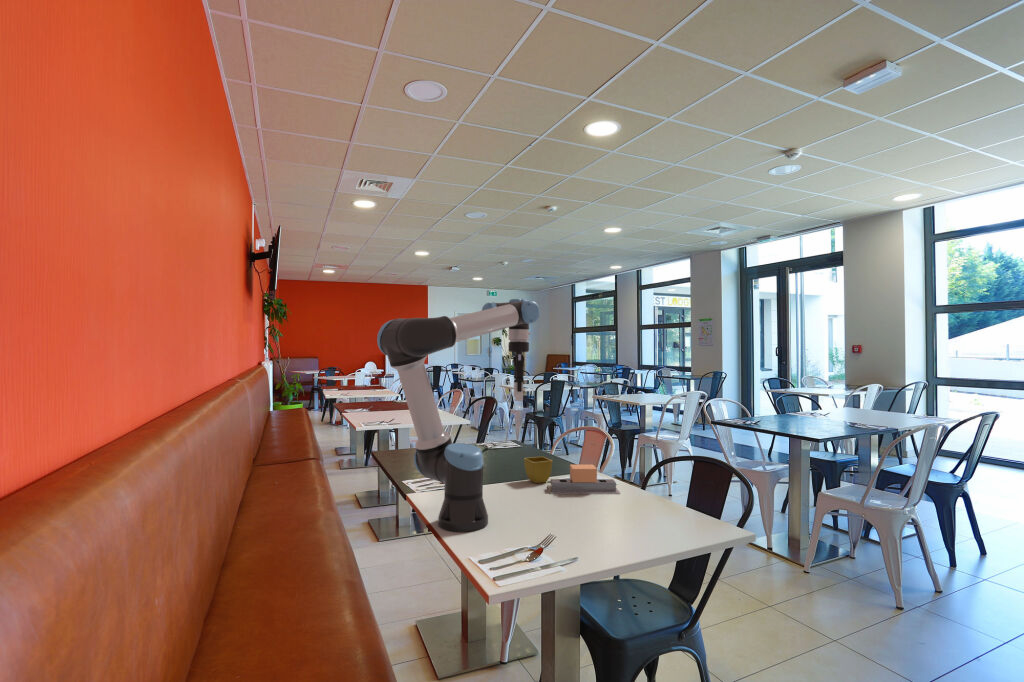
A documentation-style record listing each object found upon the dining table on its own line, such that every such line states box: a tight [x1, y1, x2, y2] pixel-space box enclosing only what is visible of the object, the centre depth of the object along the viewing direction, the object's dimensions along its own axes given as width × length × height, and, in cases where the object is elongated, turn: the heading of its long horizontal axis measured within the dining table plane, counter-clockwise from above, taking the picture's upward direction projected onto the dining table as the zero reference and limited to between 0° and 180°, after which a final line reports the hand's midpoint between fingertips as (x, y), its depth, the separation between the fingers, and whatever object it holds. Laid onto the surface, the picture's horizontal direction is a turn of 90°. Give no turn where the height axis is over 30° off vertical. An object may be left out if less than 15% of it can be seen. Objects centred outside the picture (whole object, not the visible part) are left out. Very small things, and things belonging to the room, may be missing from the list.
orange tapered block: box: [569, 464, 598, 482], centre depth 196 cm, size 9×7×8 cm
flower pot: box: [523, 456, 553, 484], centre depth 207 cm, size 9×9×9 cm
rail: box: [546, 478, 621, 495], centre depth 196 cm, size 10×26×3 cm, turn 92°
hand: (518, 398), depth 191 cm, fingers open, 13 cm apart
